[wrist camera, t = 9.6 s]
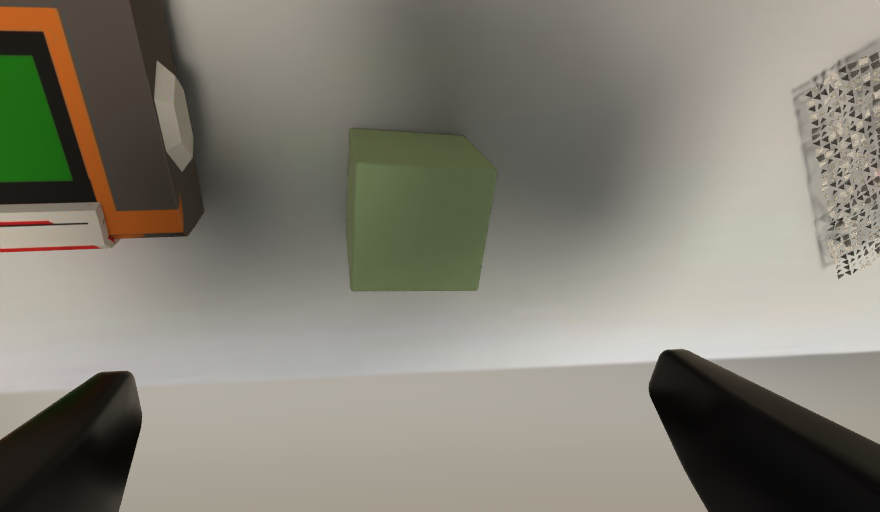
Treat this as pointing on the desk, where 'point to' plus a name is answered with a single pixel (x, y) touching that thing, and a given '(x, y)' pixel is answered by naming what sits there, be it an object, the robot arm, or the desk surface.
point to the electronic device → (91, 127)
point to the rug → (851, 154)
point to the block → (416, 211)
